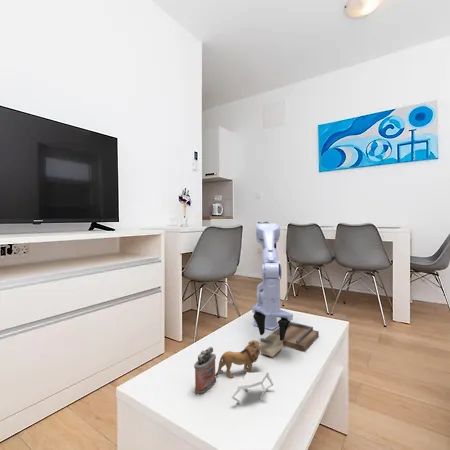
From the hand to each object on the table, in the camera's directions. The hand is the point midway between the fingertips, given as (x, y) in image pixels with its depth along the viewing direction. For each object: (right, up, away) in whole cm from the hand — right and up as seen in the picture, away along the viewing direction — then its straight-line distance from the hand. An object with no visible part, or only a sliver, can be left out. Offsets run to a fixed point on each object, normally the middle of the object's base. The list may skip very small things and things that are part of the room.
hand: (272, 336), depth 94 cm
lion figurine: (-12, -6, -12) cm, 18 cm away
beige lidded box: (0, -5, 0) cm, 5 cm away
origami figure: (-10, -7, -23) cm, 26 cm away
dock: (+10, -5, +10) cm, 15 cm away
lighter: (-22, -6, -19) cm, 29 cm away
